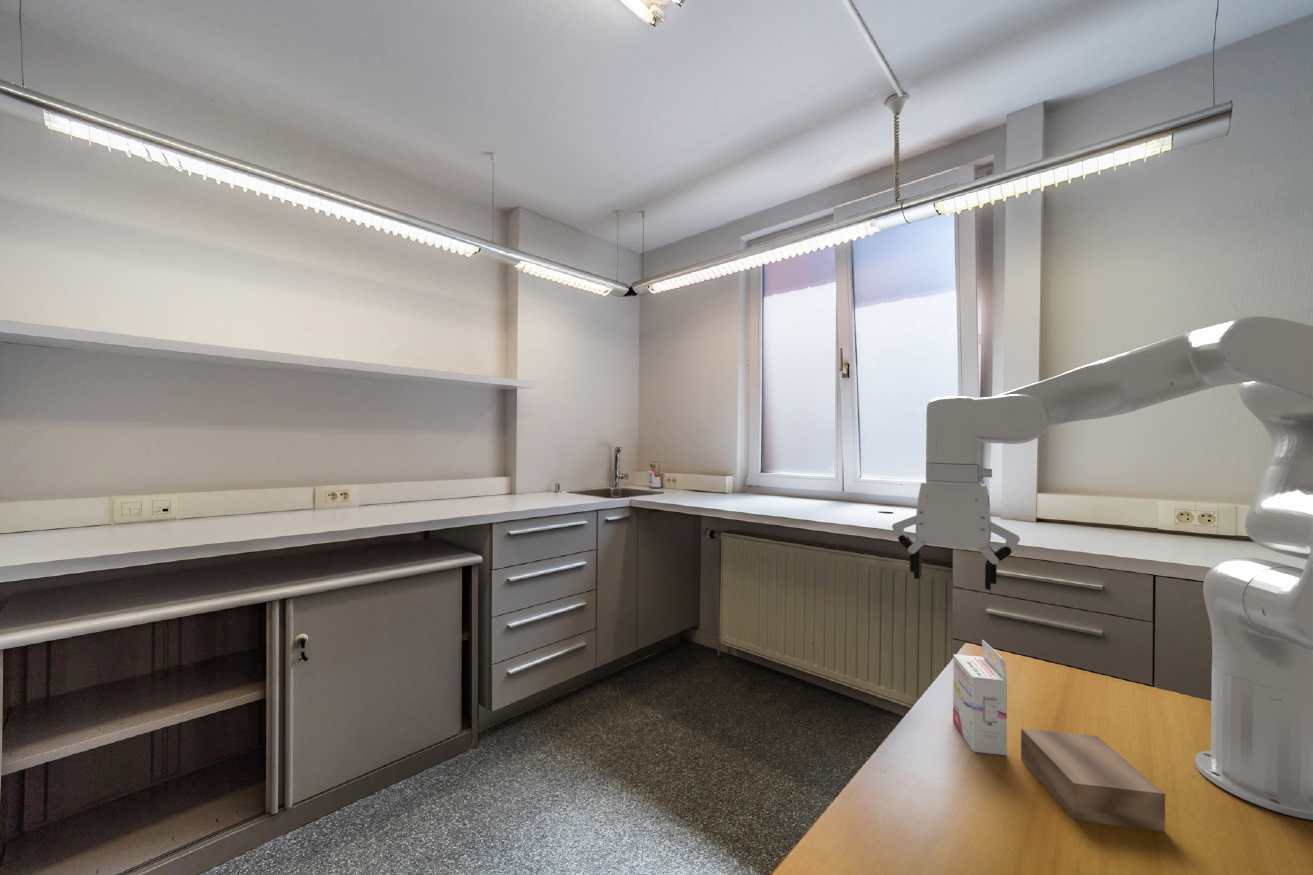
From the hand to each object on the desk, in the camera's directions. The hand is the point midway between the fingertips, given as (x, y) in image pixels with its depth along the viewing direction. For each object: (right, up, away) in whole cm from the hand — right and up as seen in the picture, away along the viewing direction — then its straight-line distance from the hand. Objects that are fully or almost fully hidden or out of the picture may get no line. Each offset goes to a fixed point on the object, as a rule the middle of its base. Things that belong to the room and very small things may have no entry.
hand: (951, 582), depth 78 cm
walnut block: (+12, -26, -11) cm, 31 cm away
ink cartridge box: (+5, -26, +1) cm, 26 cm away
